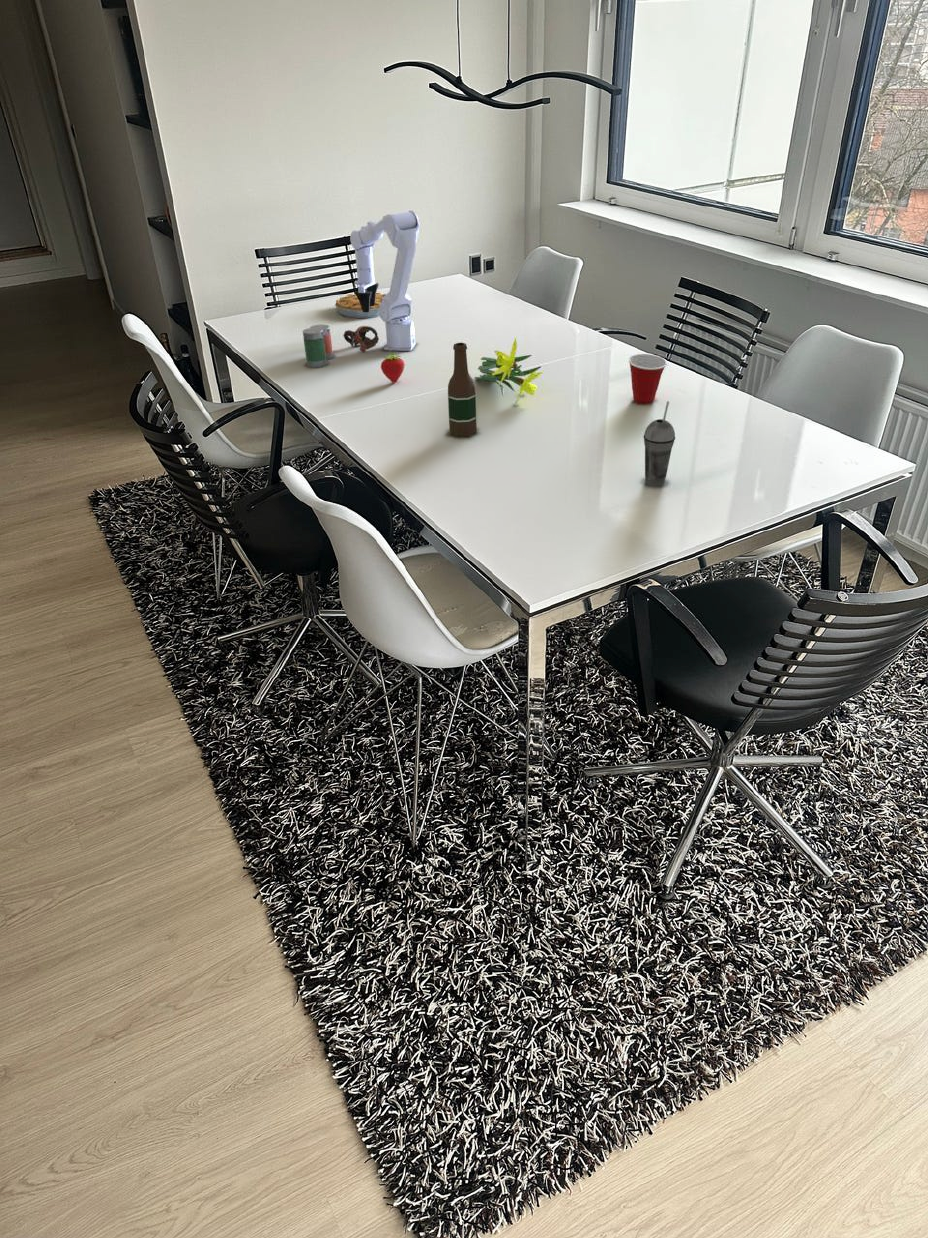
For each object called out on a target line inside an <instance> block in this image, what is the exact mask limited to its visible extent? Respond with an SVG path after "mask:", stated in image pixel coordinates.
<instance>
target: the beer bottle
mask: <svg viewBox="0 0 928 1238" xmlns="http://www.w3.org/2000/svg"><path fill="white" fill-rule="evenodd" d="M452 349H453V351H454V352H453V374H452V375H451V377H450V379H449V381H448V384H447V404H448V405H447V407H448V408H447V409H448V426H449V434H450V436H452V437H455V438H457V439H460V438H470V437H472V436H474V435H476V434H477V396H476V395H477V394H476V393H477V392H476V385H475V381H474V380H473V378H472V376H471V375H470V373H469V369H468V368H469V367H468V356H467V350H468V346H467V343H465V342H456V343H454V344H453V347H452Z"/></svg>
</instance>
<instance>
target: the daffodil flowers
mask: <svg viewBox="0 0 928 1238" xmlns="http://www.w3.org/2000/svg"><path fill="white" fill-rule="evenodd" d="M517 349H518V343H517V337H515V338H514V341H513V343H512V347H511V350H510V353H509V355H508V354H506V353H504V352H503V351H499V350H494V353H495V355H496V357H497V358H494V357H487V356H483V357H481V358H480V360H481V361H482V362H481V365H479V366H478V368H477V370H478V371H479V372H480V373H481V374H482V375H481V374H480V375H479V377H478V376H474V379H475V380H476V381H492V382H494V383H496V384H497V387H498V388H499V387H500V392H501V395H502V396H504V394H505V388H504V386H503V385H505V386H507V387H508V388H509V389H511V390H512V391H513V392H516V390H515V389H514V387H513V386H512V384H511V383H510V382H512V383H514V384H516V385H518V386H519V387H520V388H519V393H518V396H517V401H516V402H518V401H519V398H520V397H522V395H523V393H524V392H525V393H527V394H528V395H531V396H534V393H535V392H536V390H537V389H538V385H536V384H533V383H531V382H532V381H534V380H535V379H536V378H538V377H540V376H541V375H542V374H543V372H537V371H538V370H539V369H541V368H542V366H541V365H539V366H537V367H533V368H530V369H527V370H521V369H520V368H522V366H523V364H520V365H518V363H519V362H522V361H524V360H526V359H529V358H530V357H532V354H528V355H527V354H526V355H521V356H516V352H517ZM492 369H497V370H496V371H495V370H492ZM527 375H528V376H527ZM525 376H527V377H526V378H522V377H525ZM509 381H510V382H509ZM502 384H503V385H502ZM515 406H518V403H516V404H515Z"/></svg>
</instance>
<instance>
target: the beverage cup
mask: <svg viewBox="0 0 928 1238" xmlns="http://www.w3.org/2000/svg"><path fill="white" fill-rule="evenodd" d="M669 403H670V401H669V400H667V401H666V404H665V408H664V413H663V418H660V419H655V420H652V421H651V422H650V423H649V424H648V425H647V426H646V428H645V431H644V433H643V436H642V437H643V444H644V478H645V479H644V481H645V485H647V486H649V487H662V486H664V484H665V482H666V479H667V474H668V470H669V464H670V461H671V460H670V459H671V454H672V449H673V447H674V444H675V440H676V432H675V428H674V426H673V424H672V423H671V422H669V421H668V420H666V417H667V414H668V408H669Z"/></svg>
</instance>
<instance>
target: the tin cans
mask: <svg viewBox="0 0 928 1238" xmlns="http://www.w3.org/2000/svg"><path fill="white" fill-rule="evenodd" d="M330 328H331V327H330V325H328V324H314V325H311V326H310V327H308V328H305V329H303V330H302V336H303V337H302V339H303V345H304V352H305V353H304V354H305V360H306V365H307V367H308V368H313V369H314V368H316V369H317V368H323V367H326V366H327V364H328V362H327V361H329V360H331V359H333V358H334V355H333V353H334V352H333V345H332V336H331V335H332V334H331V329H330Z"/></svg>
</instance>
